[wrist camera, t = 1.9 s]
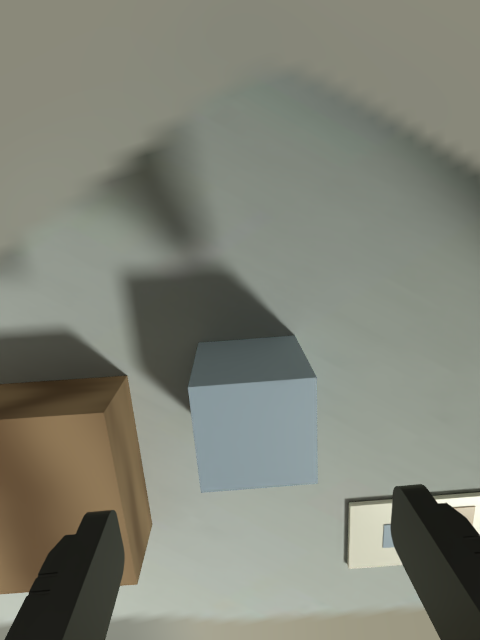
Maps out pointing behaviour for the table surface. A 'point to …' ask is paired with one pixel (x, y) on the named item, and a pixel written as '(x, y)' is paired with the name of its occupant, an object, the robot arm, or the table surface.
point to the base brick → (67, 471)
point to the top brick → (254, 414)
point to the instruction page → (375, 534)
